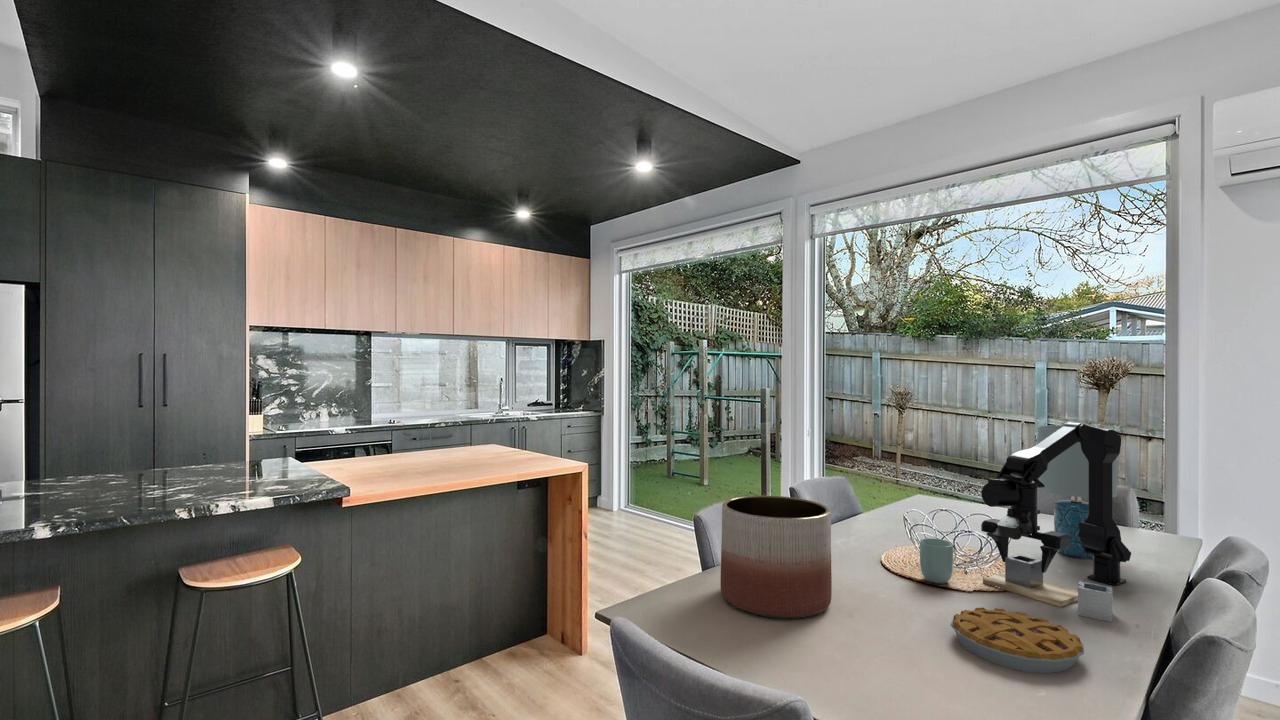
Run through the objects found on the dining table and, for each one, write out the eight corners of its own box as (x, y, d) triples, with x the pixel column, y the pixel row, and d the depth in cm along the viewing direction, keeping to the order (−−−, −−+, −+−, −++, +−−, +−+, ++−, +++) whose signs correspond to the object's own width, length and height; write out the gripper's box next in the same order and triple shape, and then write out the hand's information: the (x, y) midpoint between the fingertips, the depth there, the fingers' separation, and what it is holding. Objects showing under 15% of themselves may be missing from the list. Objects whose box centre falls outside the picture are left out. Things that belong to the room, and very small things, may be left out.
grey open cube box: (1079, 607, 140) (1079, 580, 140) (1112, 613, 136) (1112, 587, 136) (1078, 615, 135) (1077, 588, 135) (1112, 622, 131) (1111, 594, 131)
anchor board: (1008, 575, 161) (1008, 552, 161) (1085, 597, 146) (1085, 571, 146) (982, 583, 155) (982, 558, 155) (1061, 607, 140) (1061, 580, 140)
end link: (1017, 577, 156) (1017, 554, 156) (1043, 584, 151) (1043, 560, 151) (1005, 581, 153) (1005, 557, 153) (1030, 588, 148) (1030, 564, 148)
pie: (1033, 688, 103) (1033, 659, 104) (927, 636, 124) (927, 612, 124) (1110, 665, 112) (1110, 638, 112) (999, 620, 132) (999, 597, 132)
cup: (957, 587, 152) (957, 547, 152) (924, 584, 153) (924, 545, 153) (948, 577, 159) (948, 539, 160) (916, 574, 161) (916, 537, 161)
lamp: (1096, 548, 188) (1096, 426, 189) (1131, 567, 169) (1131, 432, 170) (1027, 543, 192) (1027, 424, 193) (1054, 561, 174) (1054, 430, 174)
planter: (837, 591, 148) (838, 501, 148) (822, 631, 125) (823, 524, 125) (737, 575, 159) (737, 491, 159) (706, 609, 136) (706, 511, 136)
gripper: (969, 501, 156) (969, 561, 156) (1048, 516, 140) (1048, 584, 140) (992, 497, 162) (992, 555, 162) (1071, 511, 146) (1071, 576, 146)
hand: (1023, 567), depth 152 cm, fingers open, 9 cm apart
